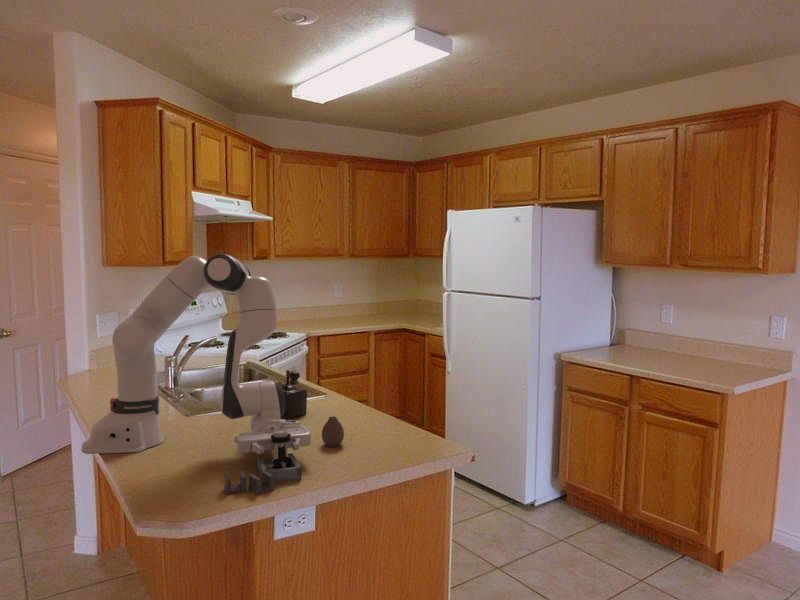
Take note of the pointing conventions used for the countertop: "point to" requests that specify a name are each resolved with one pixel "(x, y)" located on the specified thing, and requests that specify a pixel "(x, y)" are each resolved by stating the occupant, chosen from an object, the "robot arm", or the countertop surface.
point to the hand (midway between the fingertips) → (278, 449)
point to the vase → (332, 432)
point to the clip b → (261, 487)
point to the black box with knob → (294, 397)
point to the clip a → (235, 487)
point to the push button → (280, 450)
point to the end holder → (281, 470)
